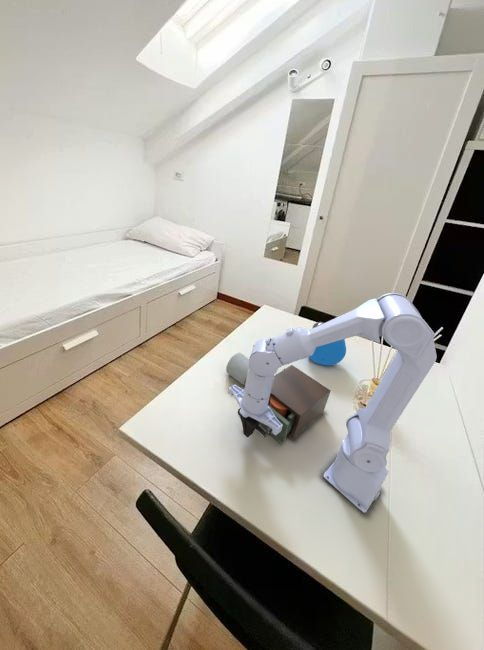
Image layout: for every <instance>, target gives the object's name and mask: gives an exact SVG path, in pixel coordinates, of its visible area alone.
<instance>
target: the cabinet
mask: <svg viewBox="0 0 484 650" xmlns="http://www.w3.org/2000/svg"><path fill="white" fill-rule="evenodd" d="M331 392H332V390H331V389H330V388H328V387H327V386H325V385H324V384H323V383H320V382H319V381H317V380H316V379H314V378H312V377H311V376H310V375H308V374H306V373H305V372H303V371H302V370H300V369H299V368H297V367H296V366H295V365H293V364H291V365H289V366H287V367H286V368H284V369H282V370H281V371H279V372H277V373H275V374H274V381H273V385H272V389H271V394H270V395H271V396H272V397H273V398H274V399H276V400H277V401H278V402H279V403H281V404H282V405H283V406H284V407H286V408H287V409H288V410H290V411H291V412H292V413H293V414H295V415H296V420H295V423H294V426H293V430H292V431H290V432H289V433H288V434H287V436H288V437H289V438H290V439H291V440H295V439H296V438H298V436H299V435H300V434H301V433H302V432H303V431H305V430H306V429H307V428H308V427H309V426H310V425H312V424H313V423H314V422H315V421H316V420H317V419H318V418H319V417H321V416H322V414H324V411H325V409H326V405H327V403H328V400H329V396H330V394H331Z"/></svg>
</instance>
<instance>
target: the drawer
mask: <svg viewBox="0 0 484 650" xmlns="http://www.w3.org/2000/svg"><path fill="white" fill-rule="evenodd" d="M270 397H271V395H270ZM269 401H270V398H269ZM268 406H269V402H268ZM269 408H270V409H271V411H272V412H273V414H274V415H275V417H276V418H277V419H278V421H279V422H280V423H281V424H283V426H282V430H281V432H279V433H278V434H277V435H276V436H275V435H274V434H273V433H272V429H271V428H270V427H269V426H267V425H265V424H263V423H260V424H259V425H258V426H257V427H256V429H255V430H256V431H257V432H258V433H260V435H261V436H262V437H264V438H267V437H268V435H269V434H270V435H272V437H273V438H275V440H277V441H278V442H279V443H280V444H281V445H282V444H284V443H285V442H286V439H287V436H288V435H287V434H288V433H289V432H290V431H292V430H293V426H294V423H295V420H296V415H295V414H293V413H292V412H291V411H290V410H289V411H288V415H287V418H286V419H285V418H284V417H283V416H281V415H280V414H279V413H278V412H276V411H275V410H274V409H273V408H272V407H270V406H269Z"/></svg>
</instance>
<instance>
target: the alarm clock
mask: <svg viewBox="0 0 484 650" xmlns="http://www.w3.org/2000/svg"><path fill="white" fill-rule="evenodd" d="M324 323H325V322H323V321H318V322H315V323H313V325H312V327H311V329H313V328H315V327H317V326H319V325H321V324H324ZM346 354H347V345H346V339H343V340H339V341H336V342H332V343H329V344H325V345H322V346H318V347H316V349H315V351H314V353H313V355H312V356H309V357H308V358H309V359H310V360H311V361H313V362H314V363H316V364H317V365H320V366H334V365H337V364H339V363H340V362H342V361H343V360H344V358H345V357H346Z"/></svg>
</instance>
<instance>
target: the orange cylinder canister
mask: <svg viewBox="0 0 484 650" xmlns="http://www.w3.org/2000/svg"><path fill="white" fill-rule="evenodd" d="M269 406H270V407H272V408H273V409H274V410H275V411H276V412H278V413H279V414H280V415H281V416H283V417H284V418H285V419H286V418H287V415H288V411H289V410H288V409H287V408H286V407H284V406H283V405H282V404H281V403H279V402H278V401H277V400H276V399H274V398H273V397H272V396H271V397H270V401H269Z"/></svg>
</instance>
